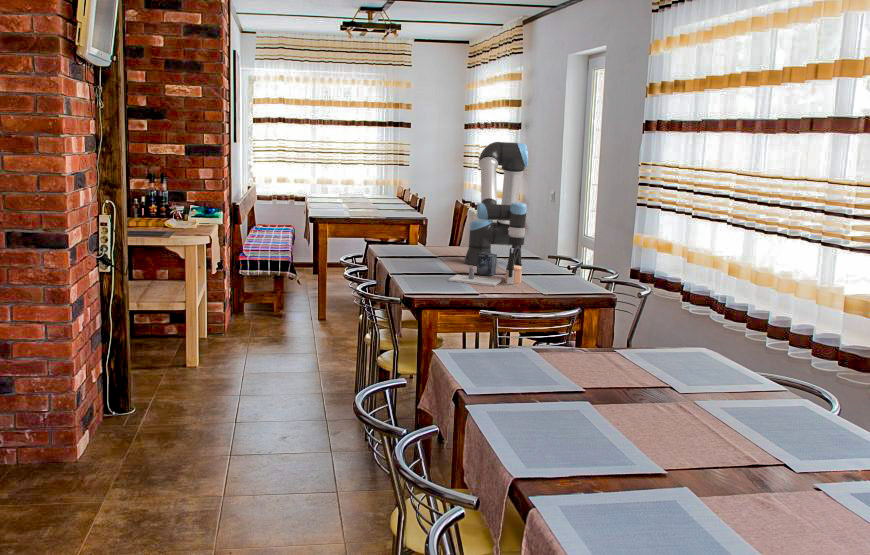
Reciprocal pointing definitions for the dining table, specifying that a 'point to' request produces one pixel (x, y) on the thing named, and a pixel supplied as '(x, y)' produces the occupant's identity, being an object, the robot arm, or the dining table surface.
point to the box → (486, 264)
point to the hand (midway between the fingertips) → (513, 281)
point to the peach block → (515, 274)
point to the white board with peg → (475, 279)
